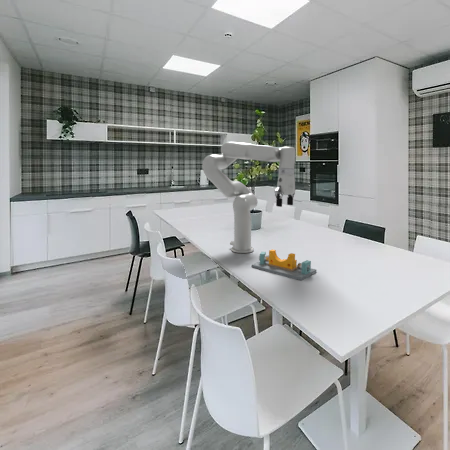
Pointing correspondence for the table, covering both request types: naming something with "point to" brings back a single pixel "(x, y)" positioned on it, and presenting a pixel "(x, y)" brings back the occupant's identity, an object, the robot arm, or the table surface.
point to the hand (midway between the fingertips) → (284, 205)
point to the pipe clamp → (286, 263)
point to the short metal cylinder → (265, 258)
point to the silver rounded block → (301, 266)
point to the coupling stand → (285, 269)
